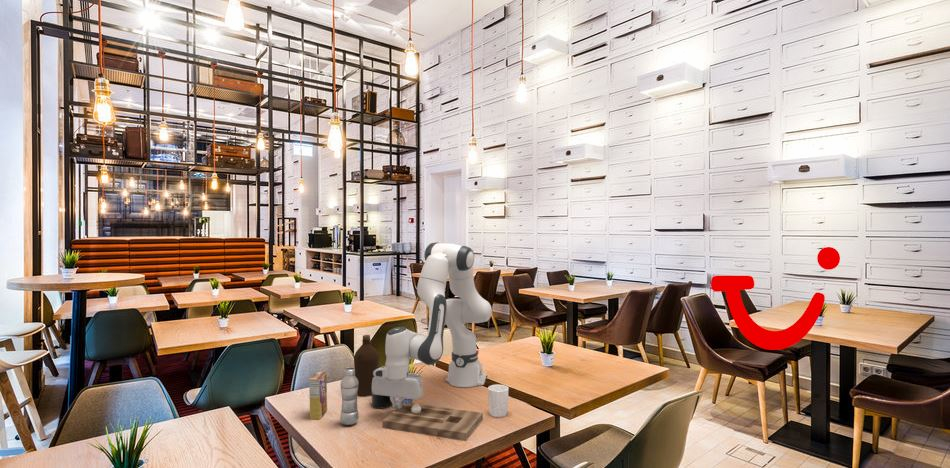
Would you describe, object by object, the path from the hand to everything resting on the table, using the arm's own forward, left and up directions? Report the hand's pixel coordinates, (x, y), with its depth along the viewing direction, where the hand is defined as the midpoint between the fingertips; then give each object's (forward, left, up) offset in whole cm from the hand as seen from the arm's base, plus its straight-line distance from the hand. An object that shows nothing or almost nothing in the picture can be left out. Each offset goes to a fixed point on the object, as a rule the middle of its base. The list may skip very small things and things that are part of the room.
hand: (397, 408), depth 168 cm
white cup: (-16, +35, -4) cm, 39 cm away
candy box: (+7, -30, -4) cm, 31 cm away
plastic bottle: (+10, -14, -4) cm, 18 cm away
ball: (0, +8, +1) cm, 8 cm away
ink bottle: (-10, -12, -4) cm, 16 cm away
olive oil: (-20, -26, -4) cm, 33 cm away
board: (0, +15, -4) cm, 15 cm away
